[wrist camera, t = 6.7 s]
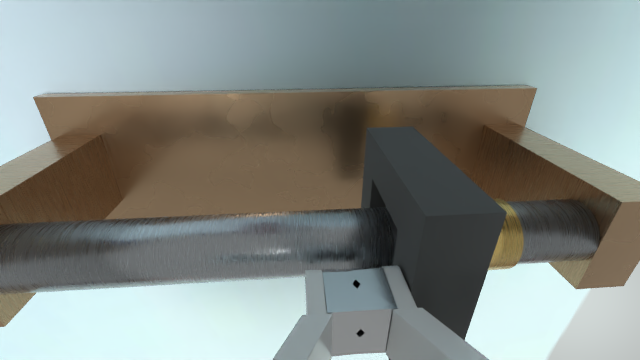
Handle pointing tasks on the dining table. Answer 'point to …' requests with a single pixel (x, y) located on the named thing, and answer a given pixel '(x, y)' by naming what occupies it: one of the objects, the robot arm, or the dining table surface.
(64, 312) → the dining table surface
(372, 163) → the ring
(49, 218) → the rail
